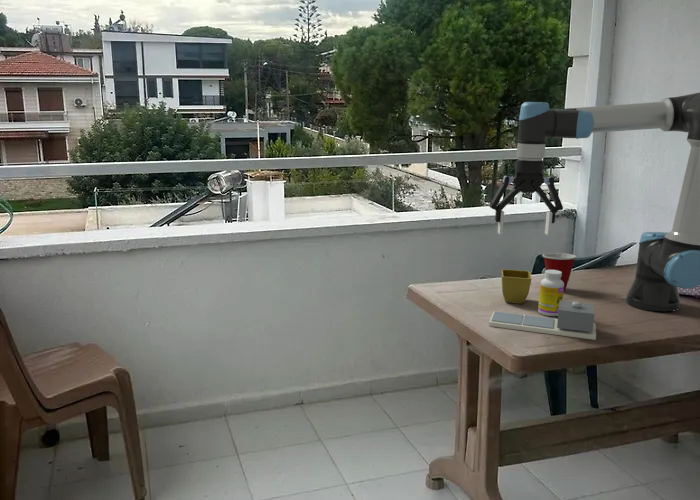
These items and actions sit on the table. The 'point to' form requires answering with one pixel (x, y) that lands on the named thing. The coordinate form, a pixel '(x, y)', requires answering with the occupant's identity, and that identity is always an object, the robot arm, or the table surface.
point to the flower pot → (515, 285)
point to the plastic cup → (560, 264)
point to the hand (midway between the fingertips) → (523, 234)
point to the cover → (575, 316)
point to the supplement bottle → (550, 293)
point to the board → (536, 325)
